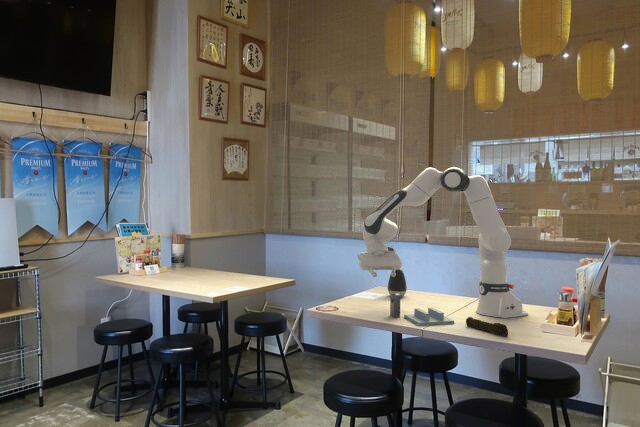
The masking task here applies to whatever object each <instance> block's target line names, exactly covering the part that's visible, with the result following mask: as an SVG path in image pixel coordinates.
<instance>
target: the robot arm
mask: <svg viewBox="0 0 640 427" xmlns="http://www.w3.org/2000/svg"><path fill="white" fill-rule="evenodd" d="M441 188H443V189H444V190H446V191H448V192H462V193H463V194H464V196H465V198H466V200H467V204H468V207H469V210H470V212H471V215H472V219H473V221H474V222H475V224H476V226H477V228H478V231H479V234H478V237H477V238H478V252H479V260H480V275H479V276H480V277H479V278H480V280H479V283H478V284H479V285H478V286H479V287H478V291H479V295H478V296H479V297H478V302H477V307H476V309H475V310H476V311H475V312H476V313H477V314H480V315H483V316H487V317H495V318H496V317H497V318H503V319H507V318H515V317H517V318H518V317H523V316H528V315H529V312H528V311H526V310H524V309H523V303H522V300H520V299H519V297H517V296H516V295H515V294H513V293H512V291H511V290H513V289H514V288H515V284H512V283H507V263H506V262H507V261H506V257H505V252H507V251H508V250H509V249H510V248H511V245H512V237H511V235H510V234H509V232H508V229H507V227H506V225H505V223H504V220H503V218H502V217H501V214H500V212H499V210H498V208H497V205H496V202H495V199H494V196H493V193H492V190H491V188H490V186H489V184H488V181H487V180H486V178H484V176H482V175H478V174H475V175H471V176H469V175H467V174H466V173H465V172H464V170H463V169H462V168H459V167H455V166H453V167H449V168H447V169H445V170H443V171H440V170H438V169H436V168H434V167H427V168H425V169H424V170H423V171H422V172H421V173H419V174H418V175H417V176H416V177H415V178H414V180H413V181H412V182H410V184H408V185H407V186H406V187H404V188H403V189H399V190H397V191H396V192H394V193H392V195H391V196H390V197H389V198H387V200H385V201H384V202H383V203H381V205H380V206H378V207H377V208H376V209H375V210H374V211H372V212H370V213H369V214H368V215H367V216H366V217H365V218H364V221H363V222H364V223H363V229H362V238H363V241H364V244H365V246H366V252H359V253H358V254H357V259H358V260H359V261H358V262H359V268H360V269H361V270H362V271H368V273H369V274H371V275H372V277H373V278H377V276H378V275H377V272H376V271H391V272H392V271H393V272H392V273H390V275H392V277H395V276H396V273H395V271H396V270H399V269H401V268H402V266H403V263H402V259H401V258H400V255H399V254H398V253H397V249H396V248H395V247H391V246H388V245H386V244H388V243H389V242H390V243H391V241H393V240H395V239H396V237H398V236H397V235H398V234H399V228H398V224H396V223H395V222H393V221H391V220H389V219H387V218H388V217H389V215H391V214H392V213H393V212H394V211H395V210H397V208H399V207H401V206H402V207H403V206H412V207H418V206H419V207H420V206H423V205H424V204H425V203H426V202H428V200H429V199H430V198H431V197H433V195H434V194H435V192H437V190H439V189H441ZM510 289H511V290H510Z"/></svg>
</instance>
